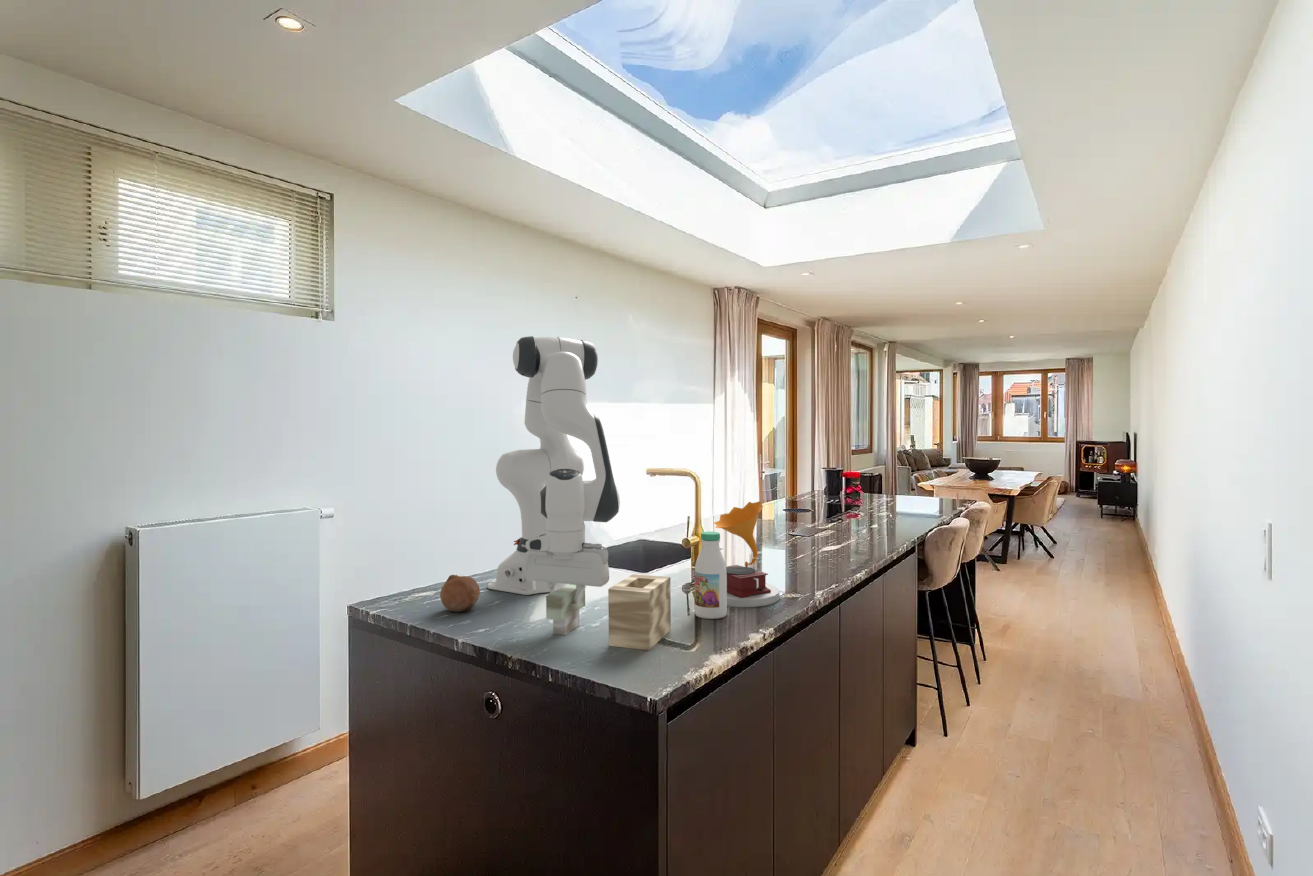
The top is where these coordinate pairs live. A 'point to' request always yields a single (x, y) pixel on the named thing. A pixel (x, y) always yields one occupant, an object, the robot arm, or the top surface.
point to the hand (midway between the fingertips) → (566, 602)
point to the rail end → (564, 609)
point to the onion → (459, 593)
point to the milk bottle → (710, 579)
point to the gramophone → (744, 581)
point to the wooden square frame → (639, 611)
